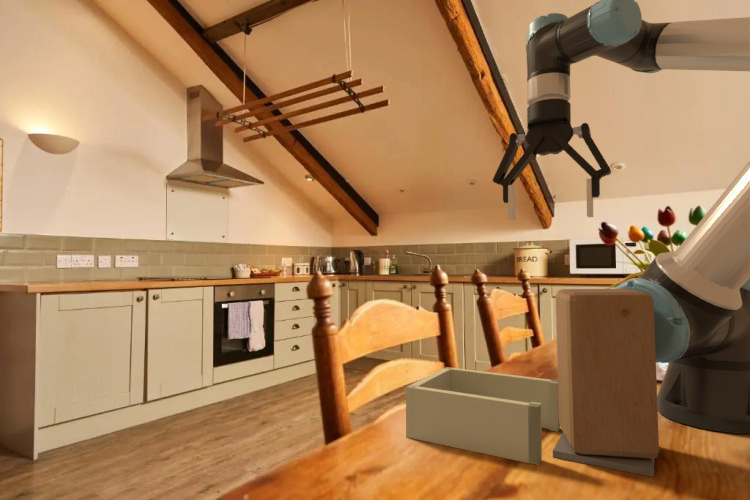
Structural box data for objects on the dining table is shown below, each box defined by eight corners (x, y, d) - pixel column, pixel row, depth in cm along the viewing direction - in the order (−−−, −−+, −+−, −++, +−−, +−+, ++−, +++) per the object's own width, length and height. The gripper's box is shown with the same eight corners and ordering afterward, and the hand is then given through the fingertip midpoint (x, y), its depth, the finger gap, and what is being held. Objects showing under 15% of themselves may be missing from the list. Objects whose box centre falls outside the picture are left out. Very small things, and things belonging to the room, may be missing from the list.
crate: (560, 428, 70) (559, 380, 70) (538, 465, 57) (538, 406, 57) (446, 408, 79) (446, 367, 79) (406, 437, 66) (406, 386, 66)
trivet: (654, 445, 63) (653, 439, 63) (653, 477, 54) (653, 470, 54) (566, 430, 69) (566, 424, 69) (552, 456, 59) (552, 450, 59)
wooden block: (662, 462, 55) (656, 292, 56) (572, 456, 57) (567, 292, 58) (634, 432, 65) (629, 288, 66) (558, 428, 67) (554, 288, 68)
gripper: (626, 97, 84) (627, 216, 83) (488, 119, 96) (488, 222, 96) (623, 84, 77) (625, 212, 77) (476, 109, 90) (476, 219, 89)
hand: (549, 218), depth 86 cm, fingers open, 13 cm apart
